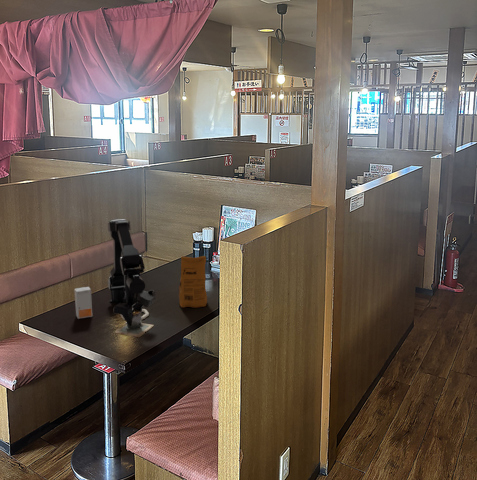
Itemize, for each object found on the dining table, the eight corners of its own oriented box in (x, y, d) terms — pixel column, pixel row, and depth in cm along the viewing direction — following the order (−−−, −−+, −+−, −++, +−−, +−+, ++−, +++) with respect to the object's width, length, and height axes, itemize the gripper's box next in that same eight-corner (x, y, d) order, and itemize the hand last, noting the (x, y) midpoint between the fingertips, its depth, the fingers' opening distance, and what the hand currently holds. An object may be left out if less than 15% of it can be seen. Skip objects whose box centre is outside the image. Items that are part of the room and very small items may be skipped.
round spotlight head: (138, 330, 196) (138, 315, 194) (122, 327, 198) (121, 313, 197) (146, 324, 201) (145, 310, 199) (129, 321, 203) (129, 307, 202)
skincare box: (78, 319, 209) (75, 291, 206) (76, 315, 213) (73, 288, 209) (93, 316, 212) (91, 289, 209) (90, 313, 215) (88, 286, 212)
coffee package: (180, 299, 231) (178, 252, 225) (207, 299, 231) (207, 253, 225) (177, 308, 221) (176, 259, 215) (206, 308, 221) (206, 259, 216)
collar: (116, 318, 210) (116, 316, 210) (130, 308, 220) (130, 307, 220) (139, 322, 206) (139, 320, 206) (152, 312, 216) (152, 310, 216)
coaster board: (114, 332, 197) (114, 331, 197) (129, 321, 207) (129, 320, 207) (139, 337, 193) (139, 336, 193) (153, 325, 203) (153, 324, 203)
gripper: (137, 296, 184) (139, 335, 188) (162, 279, 201) (163, 316, 205) (111, 292, 188) (113, 331, 192) (137, 276, 205) (139, 312, 209)
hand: (134, 322), depth 199 cm, fingers closed on round spotlight head, 5 cm apart
